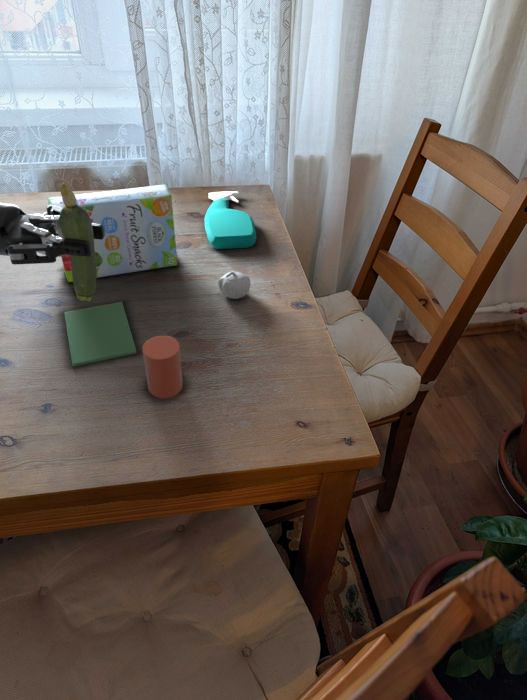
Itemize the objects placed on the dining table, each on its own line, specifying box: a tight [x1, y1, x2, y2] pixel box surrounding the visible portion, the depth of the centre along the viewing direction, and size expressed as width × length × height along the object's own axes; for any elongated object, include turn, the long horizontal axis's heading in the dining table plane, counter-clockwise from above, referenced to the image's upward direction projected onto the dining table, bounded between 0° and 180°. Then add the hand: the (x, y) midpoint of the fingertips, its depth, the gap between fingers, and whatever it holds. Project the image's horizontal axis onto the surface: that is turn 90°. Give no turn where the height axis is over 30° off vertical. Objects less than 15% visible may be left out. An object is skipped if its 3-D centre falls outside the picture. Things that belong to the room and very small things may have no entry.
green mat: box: [63, 301, 138, 367], centre depth 88 cm, size 14×10×1 cm
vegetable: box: [59, 182, 98, 302], centre depth 77 cm, size 4×4×20 cm
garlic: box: [217, 270, 252, 300], centre depth 96 cm, size 6×5×5 cm
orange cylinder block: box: [141, 334, 184, 399], centre depth 77 cm, size 5×5×8 cm
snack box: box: [47, 184, 178, 283], centre depth 98 cm, size 21×6×15 cm, turn 110°
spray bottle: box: [204, 190, 257, 250], centre depth 118 cm, size 3×11×24 cm
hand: (96, 240), depth 76 cm, fingers closed on vegetable, 4 cm apart
